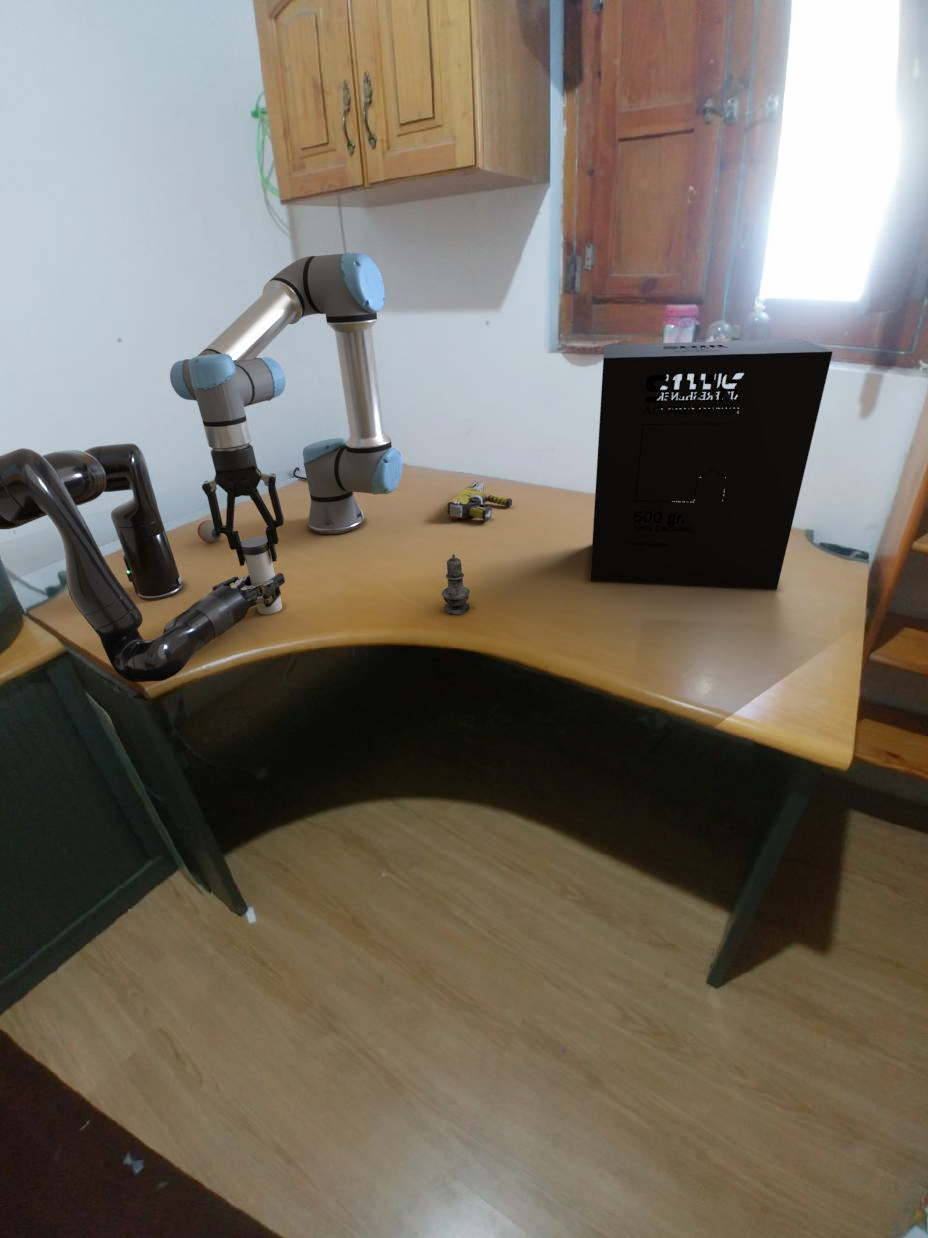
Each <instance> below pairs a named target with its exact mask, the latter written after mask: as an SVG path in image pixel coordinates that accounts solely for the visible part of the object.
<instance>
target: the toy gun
mask: <svg viewBox="0 0 928 1238" xmlns="http://www.w3.org/2000/svg"><path fill="white" fill-rule="evenodd" d="M487 502H488V503H493V504H496V505H500V506H504V507H506V508H510V507H511V506H512V505H513V499H512V498H509V497H504V496H500V495H499V496H498V495H494V494H492V493H490V494H489V495H488V496H487V495H486V492H485V483H484V482H483V481H480V482H479V481H477V480H474V482H473V483H471V484H470V485H468V486H467V487H465V488H464V489H462V491H460V492H459V493H458V494H456V496H454V497H453V498H452V499H451V500H449V501H448V502H447V505H446V514H447V516H448V517H451V518H452V519H455V520H458V519H459V518H460V519H467V518H471V517H475V518H479V519H482V522H484V523H485V522H487V521H488V520H491V518H492V512H493V507H492V506H485V505H484V504H486V503H487Z"/></svg>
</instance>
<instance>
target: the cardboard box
mask: <svg viewBox="0 0 928 1238" xmlns="http://www.w3.org/2000/svg"><path fill="white" fill-rule="evenodd" d="M833 353H834V352H833V350H830V349H827V348H826V347H825V348H824V347H822V346H821V345H818V344H815V343H813V342H810V341H808V340H805V339H802V338H783V339H782V338H781V339H779V338H777V339H776V338H775V339H749V340H747V339H746V340H723V341H722V340H720V341H719V340H718V341H689V342H687V341H685V342H683V341H682V342H657V343H654V342H653V343H627V344H625V343H624V344H623V343H621V344H604V345H603V359H602V362H603V363H602V375H601V389H600V390H601V392H600V409H599V424H598V425H599V426H598V427H599V428H598V442H597V457H596V458H597V459H596V460H597V461H596V475H595V493H594V496H595V497H594V508H593V509H594V510H593V525H592V527H593V528H592V541H591V557H590V558H591V560H590V575H589V576H590V577H589V580H590V582H603V583H622V584H623V583H625V584H626V583H628V584H645V585H647V584H648V585H669V586H670V585H671V586H693V587H712V588H714V587H715V588H734V589H735V588H737V589H755V590H757V589H758V590H759V589H760V590H778V586H779V582H780V577H781V574H782V570H783V565H784V561H785V556H786V553H787V548H788V543H789V539H790V536H791V531H792V526H793V522H794V519H795V513H796V510H797V505H798V501H799V497H800V493H801V489H802V484H803V480H804V476H805V471H806V467H807V464H808V463H807V462H808V458H809V455H810V450H811V446H812V442H813V437H814V434H815V430H816V425H817V421H818V417H819V411H820V407H821V404H822V400H823V399H822V398H823V394H824V390H825V386H826V381H827V378H828V374H829V369H830V366H831V360H832V356H833ZM738 374H742V376H741V377H740V378H735V376H736V375H738ZM678 375H681V379H680V380H679V384H678V388H675V385H676V379H675V377H676V376H678ZM689 375H693V380H692V381H691V379H688V376H689ZM702 375H704V379H702ZM719 378H720V382H719ZM724 378H725V382H724ZM723 382H724V385H730V384H731V385H734V388H725V387H724V386H723ZM691 383H692V385H695V388H691ZM705 385H710V388H704V386H705ZM662 387H666V389H662Z"/></svg>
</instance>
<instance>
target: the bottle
mask: <svg viewBox="0 0 928 1238" xmlns="http://www.w3.org/2000/svg"><path fill="white" fill-rule="evenodd" d="M244 557H245V564H246V568H247V571H248V575H249V576H250V580H251V584H252V585H253V584H256V583H258V582H260V583H264V582H266V581H269V580H270V579H271V578H273V577H274V576H275V575H276V573H275V570H274V564H273V562H272V558H271V553H270V549H269V550H268V551H266V552H263V553H260V554H255V555H246V554H244ZM257 589H258V593H259V595H260V592H259V588H257ZM267 589H268V586H267V587H265V591H267ZM256 607H257V611H258V613H259V614H260V615H272V614H275V613H278V612H280V611H281V610H282V609H283V603H282V599H281V595H280V596H279V597H278V598H277V599H276V601H275V602H274V603H273V604H272V605H271V606H270V607H265V604H264V603H258V604H257V605H256Z"/></svg>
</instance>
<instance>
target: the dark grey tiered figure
mask: <svg viewBox="0 0 928 1238" xmlns="http://www.w3.org/2000/svg"><path fill="white" fill-rule="evenodd" d="M462 567H463V566H462V561H461V559H460V558H458V557H456V555H455V554H454V553H452V555H451V557H450V558H449V559H448V560H447V561H446V569H447V570H446V574H445V578H446V579H447V587H446V588H444V589H443V590H442V591H441V596H442V598H443V600H444V602H445V603H446V604H445V605H444V607H443V608H444V611H445V612H446V613H448V614H452V615H461V614H464V613H466V612H468V611H469V610H470V608H471V606H470V604H469V603H468V600H469V598H470V595H471V590H470V589H469V588H468V587H466V586H464V579H463V578H464V577H465V574H464V573H463V568H462Z"/></svg>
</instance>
